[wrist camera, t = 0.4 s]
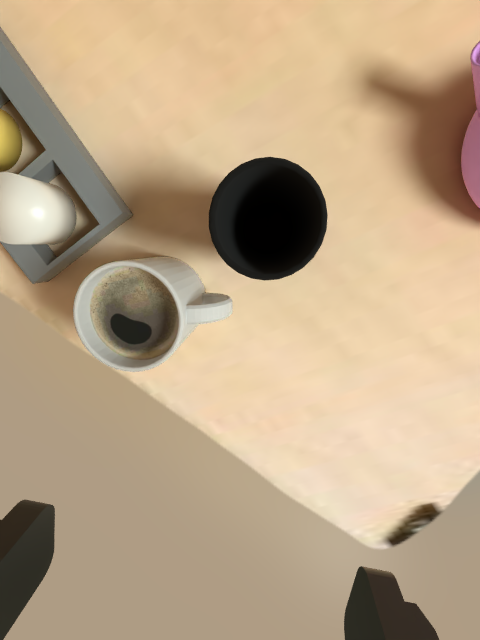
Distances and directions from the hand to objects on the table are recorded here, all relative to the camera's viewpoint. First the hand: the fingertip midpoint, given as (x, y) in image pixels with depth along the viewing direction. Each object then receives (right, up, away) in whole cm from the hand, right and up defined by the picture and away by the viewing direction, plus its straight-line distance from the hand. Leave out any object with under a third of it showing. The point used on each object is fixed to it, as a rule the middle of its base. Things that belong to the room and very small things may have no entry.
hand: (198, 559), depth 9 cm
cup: (+4, +15, +25) cm, 29 cm away
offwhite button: (-17, +16, +24) cm, 33 cm away
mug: (-6, +8, +27) cm, 29 cm away
